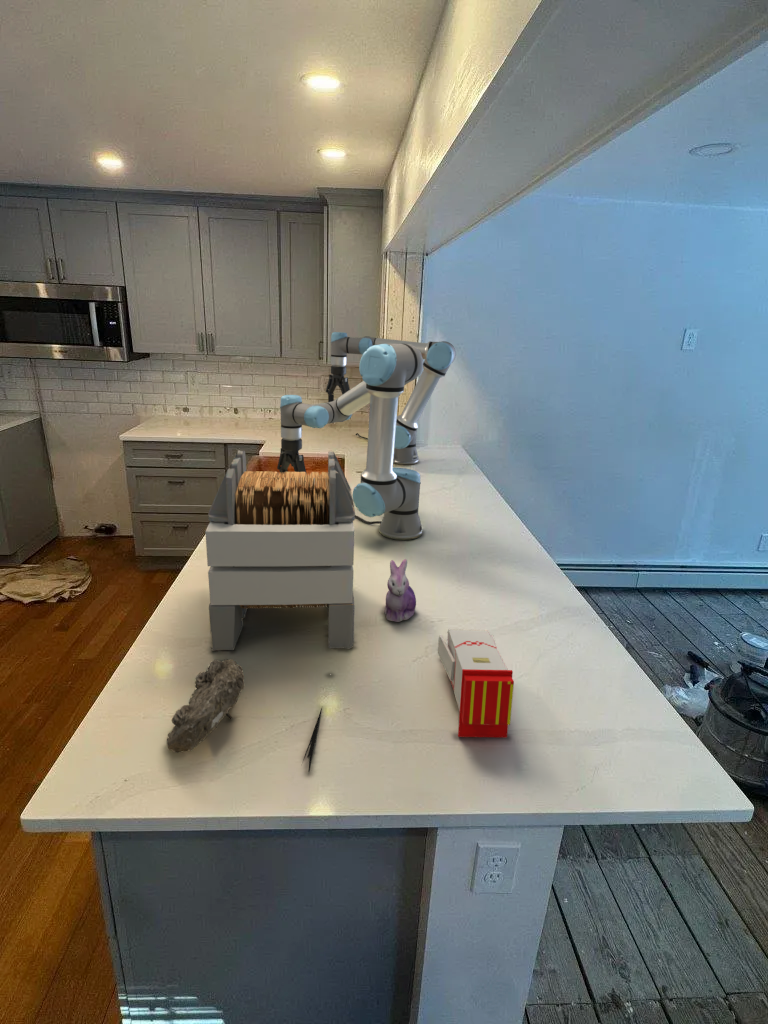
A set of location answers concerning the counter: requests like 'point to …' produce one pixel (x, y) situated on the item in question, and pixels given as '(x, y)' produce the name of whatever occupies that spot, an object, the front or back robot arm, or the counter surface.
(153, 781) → the counter surface
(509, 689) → the toy
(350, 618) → the record crate stand
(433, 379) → the back robot arm
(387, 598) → the figurine
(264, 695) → the counter surface
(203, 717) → the fossil
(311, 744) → the dark thin pointed piece
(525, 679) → the counter surface
